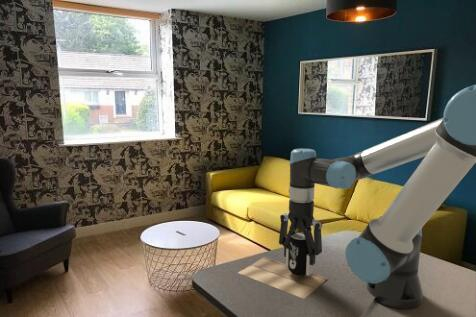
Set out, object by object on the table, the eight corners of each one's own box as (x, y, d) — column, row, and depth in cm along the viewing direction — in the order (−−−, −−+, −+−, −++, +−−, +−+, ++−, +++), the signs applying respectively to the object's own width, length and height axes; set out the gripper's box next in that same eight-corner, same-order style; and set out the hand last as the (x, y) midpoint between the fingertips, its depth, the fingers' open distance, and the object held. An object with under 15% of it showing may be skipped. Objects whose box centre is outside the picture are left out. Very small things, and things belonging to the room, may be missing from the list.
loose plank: (326, 282, 112) (326, 278, 111) (316, 292, 106) (316, 288, 106) (263, 260, 127) (263, 256, 126) (251, 268, 121) (251, 264, 121)
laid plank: (316, 292, 106) (316, 288, 106) (304, 302, 101) (304, 299, 100) (251, 268, 121) (251, 264, 121) (237, 276, 116) (237, 272, 115)
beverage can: (309, 277, 110) (310, 240, 108) (287, 275, 111) (288, 238, 109) (309, 267, 116) (311, 232, 114) (289, 265, 117) (290, 230, 115)
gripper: (336, 202, 106) (333, 275, 110) (280, 191, 119) (279, 257, 122) (325, 208, 101) (322, 284, 104) (268, 196, 113) (266, 265, 117)
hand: (298, 270), depth 113 cm, fingers closed on beverage can, 7 cm apart
